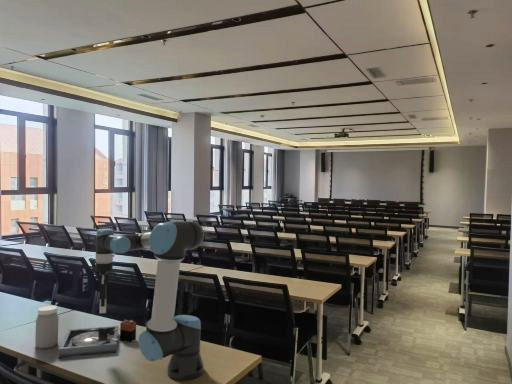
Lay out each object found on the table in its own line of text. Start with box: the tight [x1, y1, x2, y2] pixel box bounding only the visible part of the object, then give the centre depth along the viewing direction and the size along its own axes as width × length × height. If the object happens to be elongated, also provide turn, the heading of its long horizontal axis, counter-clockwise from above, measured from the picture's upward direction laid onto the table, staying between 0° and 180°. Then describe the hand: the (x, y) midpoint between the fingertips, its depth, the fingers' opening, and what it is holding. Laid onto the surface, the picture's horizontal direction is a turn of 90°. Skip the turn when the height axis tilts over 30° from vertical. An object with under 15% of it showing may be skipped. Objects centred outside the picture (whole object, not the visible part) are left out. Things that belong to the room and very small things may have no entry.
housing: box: [58, 325, 120, 359], centre depth 184 cm, size 24×25×4 cm
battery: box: [119, 319, 137, 343], centre depth 190 cm, size 4×7×10 cm, turn 68°
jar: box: [34, 305, 60, 350], centre depth 181 cm, size 10×10×18 cm
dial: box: [72, 326, 110, 347], centre depth 183 cm, size 17×17×8 cm
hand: (102, 312), depth 176 cm, fingers closed
